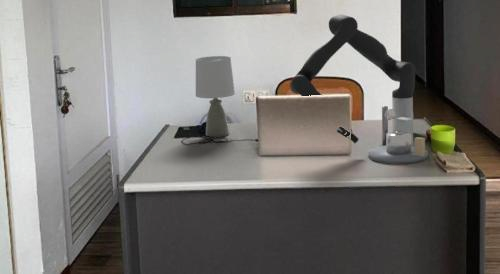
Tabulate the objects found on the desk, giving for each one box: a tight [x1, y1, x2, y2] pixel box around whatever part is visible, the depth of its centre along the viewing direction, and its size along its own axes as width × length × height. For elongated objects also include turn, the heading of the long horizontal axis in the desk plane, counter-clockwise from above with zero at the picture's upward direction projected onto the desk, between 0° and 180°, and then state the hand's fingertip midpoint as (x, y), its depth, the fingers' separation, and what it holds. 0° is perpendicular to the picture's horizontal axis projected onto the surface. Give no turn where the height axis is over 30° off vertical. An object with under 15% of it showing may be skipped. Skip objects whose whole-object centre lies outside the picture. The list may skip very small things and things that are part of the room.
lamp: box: [195, 55, 236, 138], centre depth 362 cm, size 19×19×37 cm
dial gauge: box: [379, 105, 396, 146], centre depth 322 cm, size 8×10×18 cm
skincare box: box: [397, 117, 414, 146], centre depth 328 cm, size 6×4×12 cm
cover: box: [386, 131, 411, 155], centre depth 310 cm, size 10×10×8 cm
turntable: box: [367, 136, 429, 165], centre depth 311 cm, size 24×24×9 cm
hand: (357, 141), depth 315 cm, fingers closed
